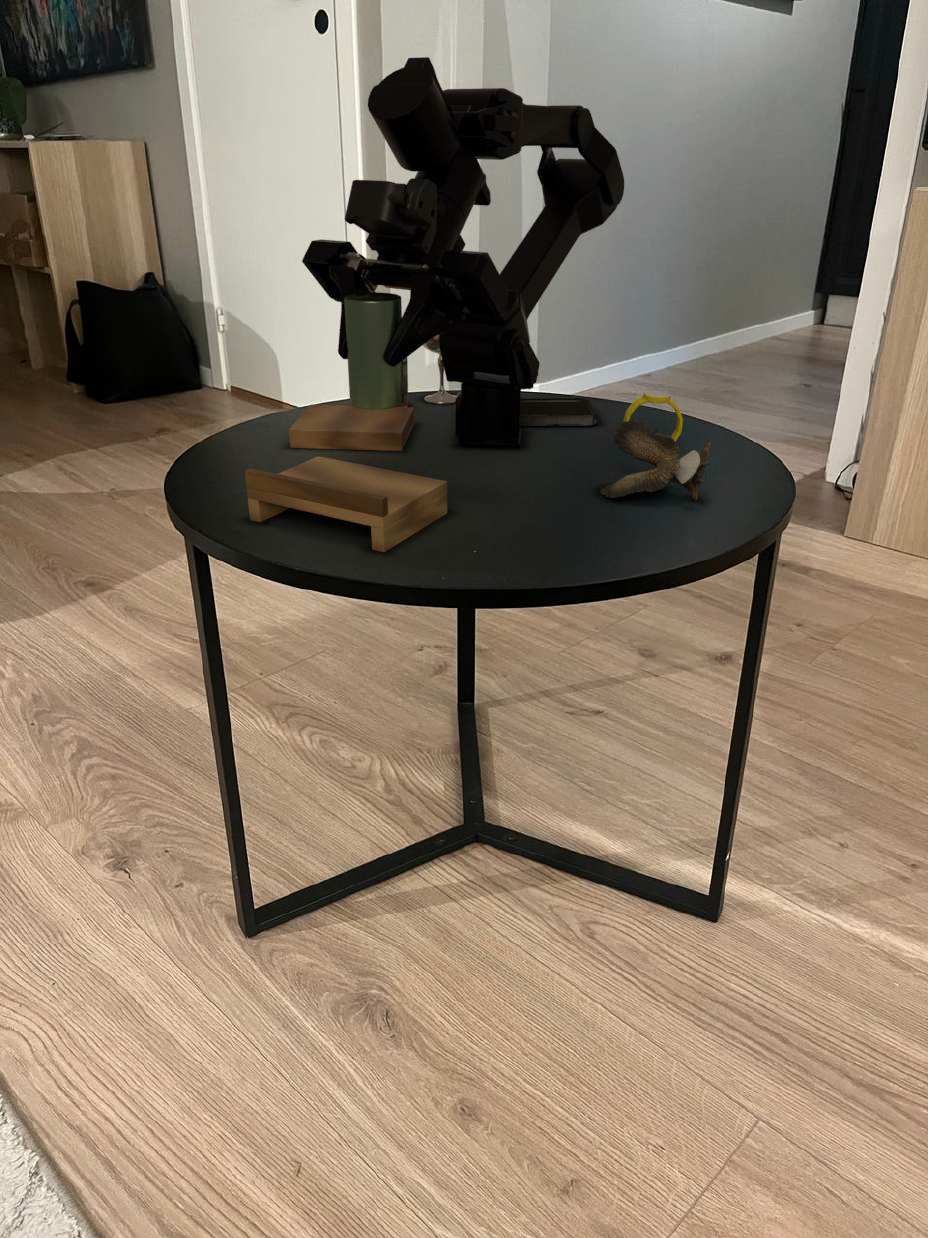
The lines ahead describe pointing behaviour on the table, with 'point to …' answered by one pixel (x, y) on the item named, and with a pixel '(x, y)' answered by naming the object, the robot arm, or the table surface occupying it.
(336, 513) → the shelf
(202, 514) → the table surface
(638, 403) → the watch
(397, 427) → the wooden block
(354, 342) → the green tumbler
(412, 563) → the table surface
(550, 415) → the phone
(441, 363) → the wineglass
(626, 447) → the eagle figurine
